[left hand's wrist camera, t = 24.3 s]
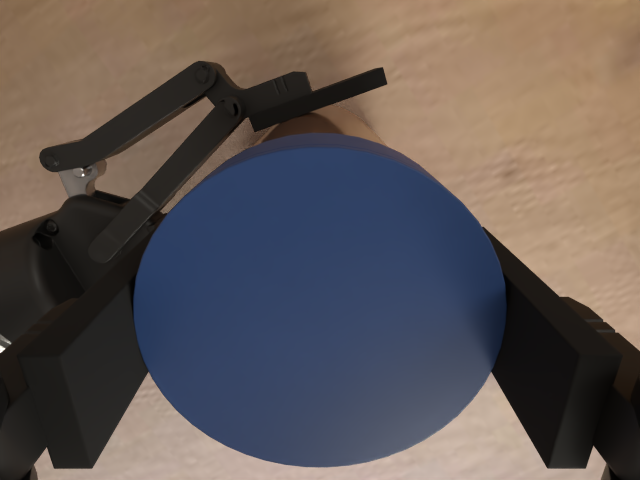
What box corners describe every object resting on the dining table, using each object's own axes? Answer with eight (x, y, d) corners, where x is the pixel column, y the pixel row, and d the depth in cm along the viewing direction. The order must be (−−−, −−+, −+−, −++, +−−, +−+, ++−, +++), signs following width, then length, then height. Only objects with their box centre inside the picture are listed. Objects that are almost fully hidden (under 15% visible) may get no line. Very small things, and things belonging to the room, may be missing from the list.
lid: (156, 116, 10) (113, 127, 8) (508, 148, 11) (556, 166, 8) (173, 398, 14) (145, 457, 12) (440, 415, 14) (462, 477, 12)
